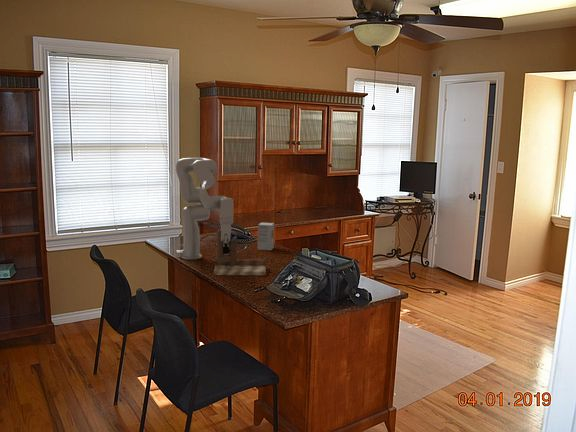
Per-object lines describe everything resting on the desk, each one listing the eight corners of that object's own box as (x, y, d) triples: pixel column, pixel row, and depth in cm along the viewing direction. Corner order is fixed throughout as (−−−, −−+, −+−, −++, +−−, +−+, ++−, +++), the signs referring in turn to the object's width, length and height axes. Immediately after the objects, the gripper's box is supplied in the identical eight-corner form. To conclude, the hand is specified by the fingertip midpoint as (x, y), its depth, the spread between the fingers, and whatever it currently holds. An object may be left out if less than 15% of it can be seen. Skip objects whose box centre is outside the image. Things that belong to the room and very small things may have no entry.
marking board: (213, 274, 272) (213, 265, 271) (215, 267, 286) (215, 259, 285) (265, 275, 274) (266, 266, 273) (265, 268, 288) (265, 259, 287)
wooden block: (236, 262, 281) (237, 230, 278) (217, 263, 277) (217, 231, 275) (235, 260, 284) (235, 229, 281) (216, 261, 281) (216, 229, 278)
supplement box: (271, 250, 330) (271, 225, 327) (257, 249, 331) (257, 224, 328) (273, 247, 339) (274, 222, 336) (260, 246, 341) (261, 222, 338)
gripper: (220, 217, 285) (220, 249, 288) (218, 222, 268) (218, 256, 271) (233, 217, 286) (233, 249, 289) (232, 223, 269) (232, 256, 272)
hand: (226, 252), depth 280 cm, fingers closed on wooden block, 4 cm apart
